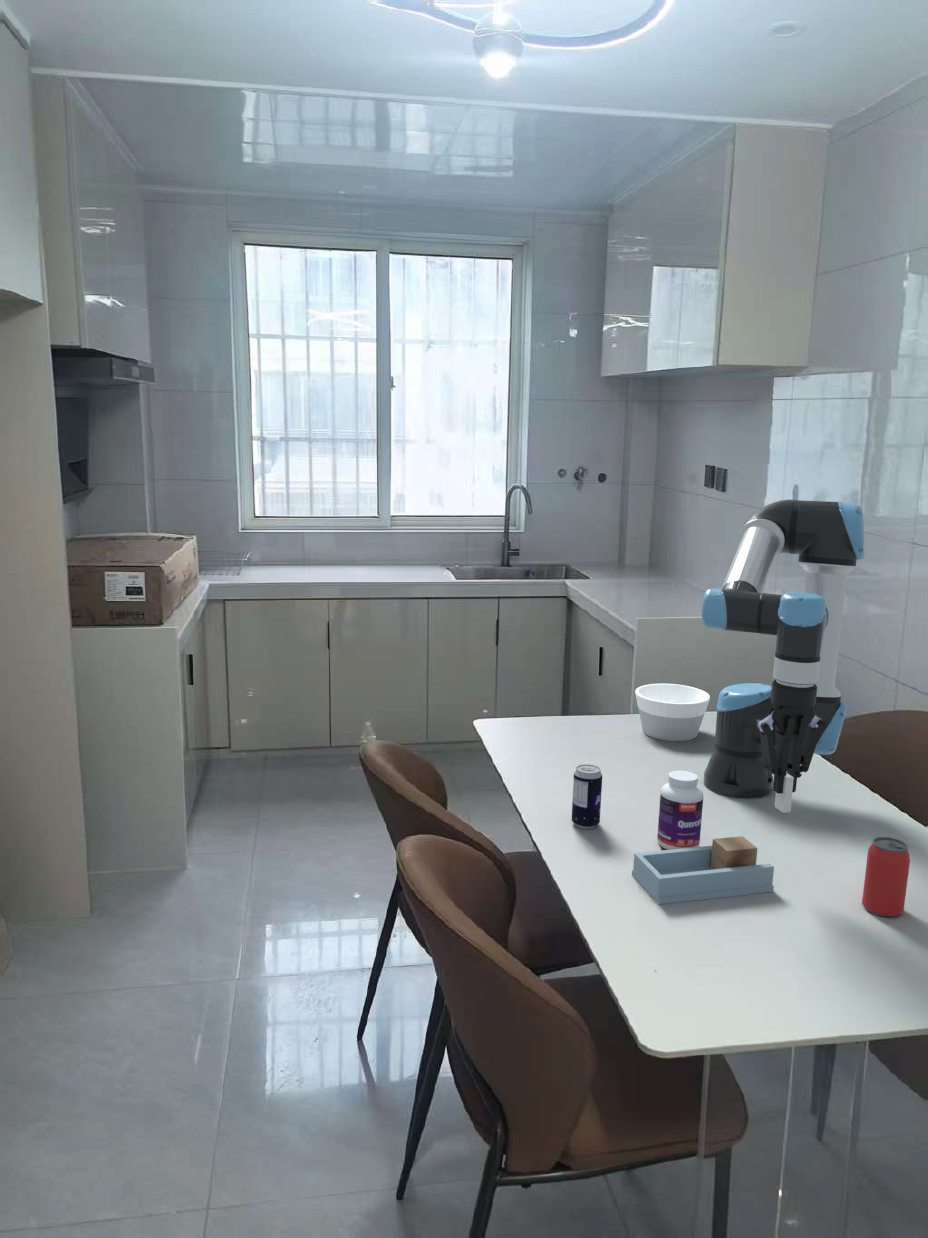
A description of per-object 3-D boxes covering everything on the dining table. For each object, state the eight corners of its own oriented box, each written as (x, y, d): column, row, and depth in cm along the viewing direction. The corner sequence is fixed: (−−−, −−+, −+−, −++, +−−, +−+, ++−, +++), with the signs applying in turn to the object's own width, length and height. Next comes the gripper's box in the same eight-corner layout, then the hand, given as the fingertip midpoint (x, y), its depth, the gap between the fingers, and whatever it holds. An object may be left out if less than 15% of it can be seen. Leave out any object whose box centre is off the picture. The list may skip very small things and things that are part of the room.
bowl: (632, 741, 249) (635, 701, 246) (632, 718, 267) (635, 681, 265) (709, 747, 246) (713, 706, 243) (704, 724, 264) (707, 685, 262)
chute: (740, 863, 181) (742, 841, 180) (773, 891, 171) (775, 867, 170) (631, 875, 176) (633, 852, 175) (658, 904, 165) (660, 880, 164)
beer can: (900, 922, 161) (908, 855, 159) (858, 911, 165) (865, 845, 162) (906, 906, 167) (914, 841, 164) (865, 895, 170) (872, 832, 168)
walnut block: (739, 866, 178) (742, 836, 176) (754, 879, 173) (757, 847, 172) (710, 869, 176) (712, 839, 175) (724, 882, 171) (726, 851, 170)
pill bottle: (677, 858, 183) (682, 786, 180) (648, 842, 189) (652, 772, 186) (708, 849, 187) (714, 778, 184) (678, 834, 194) (683, 765, 191)
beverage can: (598, 831, 194) (601, 775, 191) (570, 828, 195) (572, 772, 192) (600, 820, 199) (603, 765, 197) (572, 817, 200) (575, 762, 198)
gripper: (814, 675, 175) (802, 799, 179) (750, 677, 171) (738, 804, 176) (840, 685, 168) (826, 814, 172) (773, 688, 164) (761, 820, 169)
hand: (782, 809), depth 174 cm, fingers closed
